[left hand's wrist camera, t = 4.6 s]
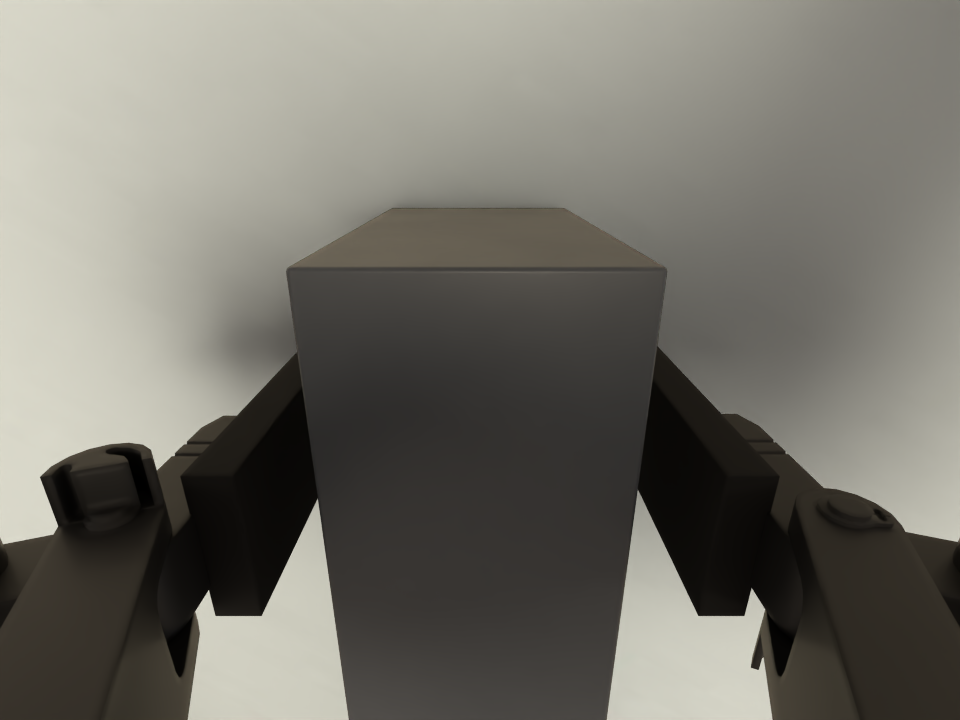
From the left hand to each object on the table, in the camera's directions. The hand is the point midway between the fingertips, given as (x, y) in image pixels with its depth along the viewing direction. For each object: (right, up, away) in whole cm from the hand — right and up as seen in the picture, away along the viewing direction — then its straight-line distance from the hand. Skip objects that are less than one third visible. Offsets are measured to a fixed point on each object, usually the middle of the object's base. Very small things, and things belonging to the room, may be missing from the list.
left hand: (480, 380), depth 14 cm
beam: (0, -26, +11) cm, 28 cm away
